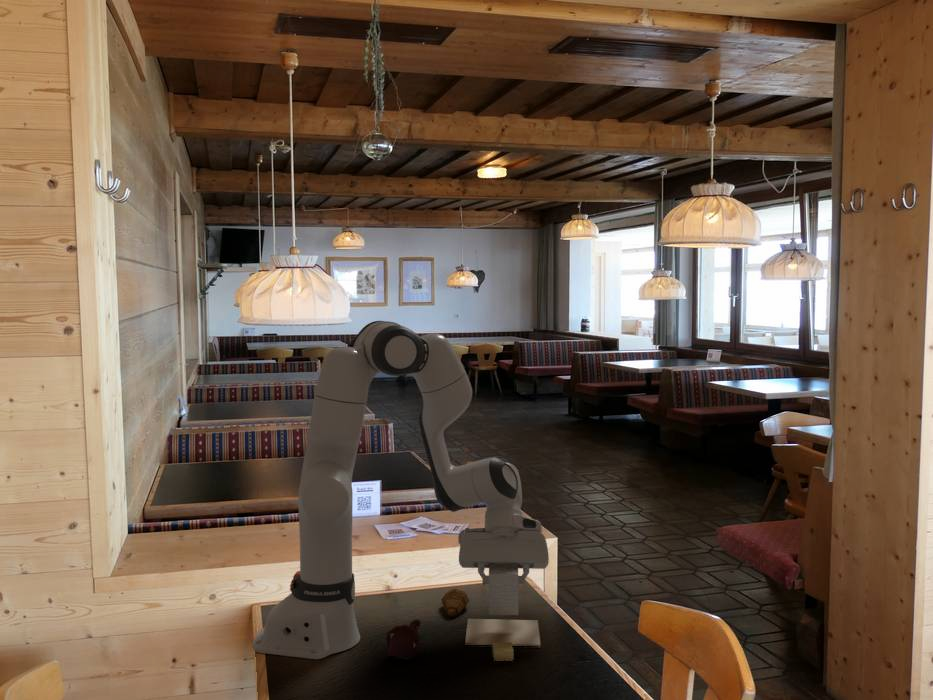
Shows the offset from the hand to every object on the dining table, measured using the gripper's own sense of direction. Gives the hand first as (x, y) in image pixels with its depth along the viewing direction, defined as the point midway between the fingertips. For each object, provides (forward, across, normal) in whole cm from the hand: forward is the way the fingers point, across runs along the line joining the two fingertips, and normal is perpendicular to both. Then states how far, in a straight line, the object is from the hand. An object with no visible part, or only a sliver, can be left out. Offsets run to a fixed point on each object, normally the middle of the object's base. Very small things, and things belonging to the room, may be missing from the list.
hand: (503, 585), depth 175 cm
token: (+16, 0, 0) cm, 16 cm away
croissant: (-2, -12, +18) cm, 22 cm away
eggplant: (+17, -21, -1) cm, 27 cm away
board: (+8, 0, +8) cm, 11 cm away
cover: (+4, 0, +4) cm, 6 cm away
